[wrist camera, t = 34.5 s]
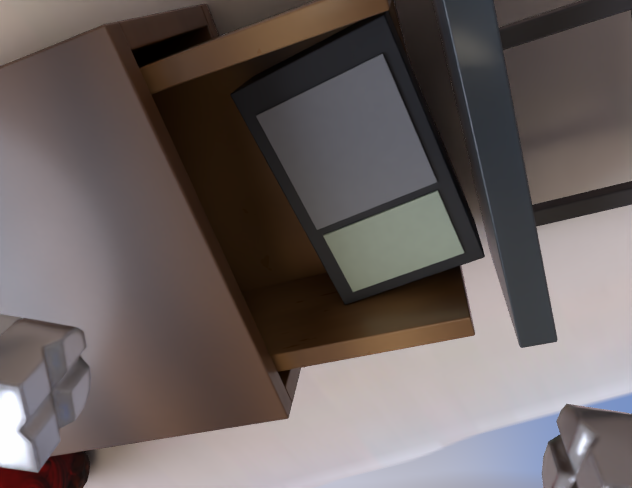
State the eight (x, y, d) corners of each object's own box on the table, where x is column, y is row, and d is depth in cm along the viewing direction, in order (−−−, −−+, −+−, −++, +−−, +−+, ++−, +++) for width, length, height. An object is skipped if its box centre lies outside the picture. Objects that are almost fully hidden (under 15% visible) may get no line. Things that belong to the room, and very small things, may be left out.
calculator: (386, 6, 19) (384, 14, 16) (474, 220, 22) (485, 258, 20) (252, 76, 21) (228, 95, 18) (351, 265, 24) (344, 307, 21)
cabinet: (207, 3, 22) (104, 23, 14) (319, 293, 27) (289, 419, 20) (-67, 110, 26) (-262, 172, 18) (80, 346, 31) (-22, 468, 24)
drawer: (618, -139, 17) (733, -192, 11) (651, 217, 22) (743, 309, 16) (121, 52, 22) (19, 85, 16) (240, 309, 27) (196, 405, 21)
